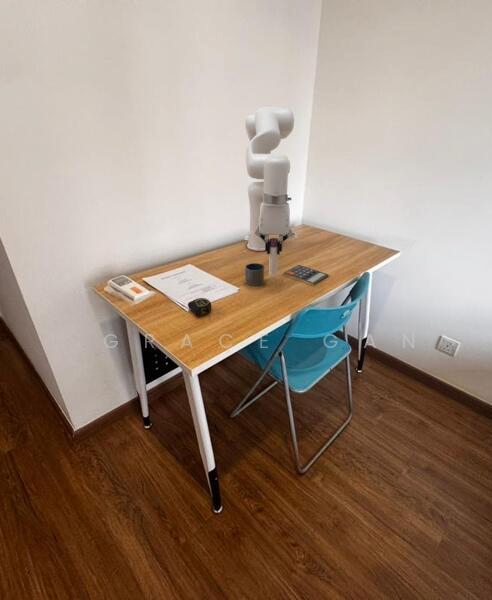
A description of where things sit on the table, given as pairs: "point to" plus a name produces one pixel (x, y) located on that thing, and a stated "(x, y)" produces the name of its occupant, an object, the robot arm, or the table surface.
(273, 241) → the glue stick
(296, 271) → the calculator
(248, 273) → the pen cup
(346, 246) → the table surface
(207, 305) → the tape measure
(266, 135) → the robot arm
